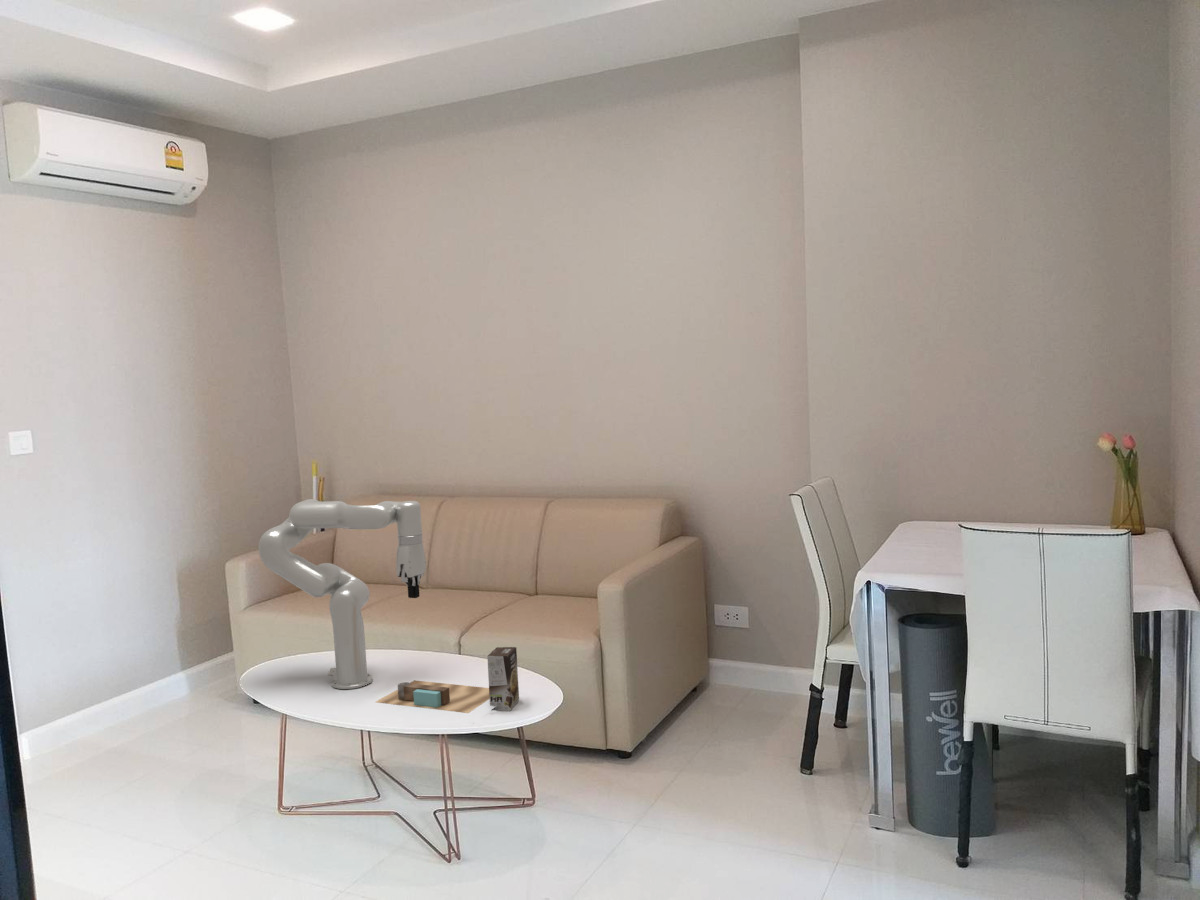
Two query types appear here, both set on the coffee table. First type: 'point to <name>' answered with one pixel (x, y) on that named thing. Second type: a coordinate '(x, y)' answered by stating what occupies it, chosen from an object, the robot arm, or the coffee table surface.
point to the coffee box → (503, 678)
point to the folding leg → (407, 689)
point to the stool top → (459, 701)
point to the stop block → (427, 698)
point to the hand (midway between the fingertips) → (413, 597)
